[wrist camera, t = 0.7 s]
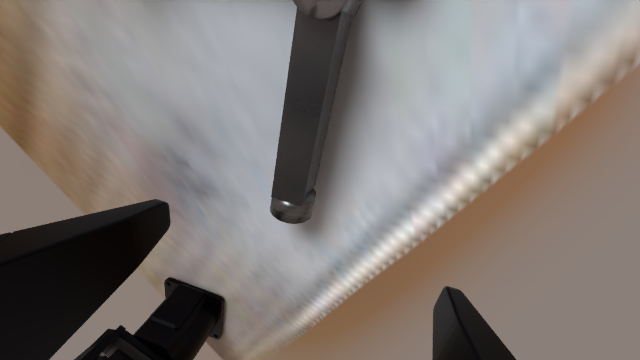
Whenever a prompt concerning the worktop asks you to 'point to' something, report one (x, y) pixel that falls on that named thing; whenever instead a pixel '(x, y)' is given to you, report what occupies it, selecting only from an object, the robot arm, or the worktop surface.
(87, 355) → the robot arm
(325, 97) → the folding leg
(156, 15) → the worktop surface
